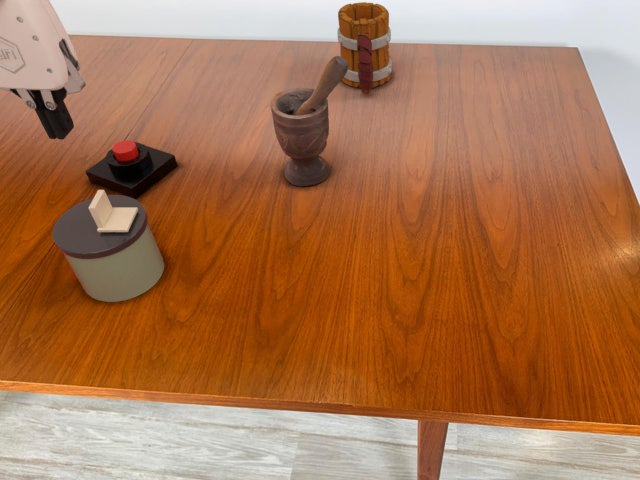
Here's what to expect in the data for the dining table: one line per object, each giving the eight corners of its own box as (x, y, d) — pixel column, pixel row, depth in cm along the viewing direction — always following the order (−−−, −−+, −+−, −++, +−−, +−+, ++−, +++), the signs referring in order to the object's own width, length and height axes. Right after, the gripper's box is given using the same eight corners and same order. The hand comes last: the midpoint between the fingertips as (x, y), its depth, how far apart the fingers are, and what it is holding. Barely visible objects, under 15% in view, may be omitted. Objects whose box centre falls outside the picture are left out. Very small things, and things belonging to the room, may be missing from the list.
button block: (90, 182, 95) (80, 161, 92) (133, 150, 101) (125, 130, 98) (136, 199, 92) (127, 179, 89) (178, 165, 98) (171, 145, 95)
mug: (390, 62, 122) (390, -13, 111) (394, 102, 111) (395, 23, 100) (339, 63, 122) (334, -12, 111) (338, 104, 111) (332, 25, 100)
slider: (97, 232, 73) (86, 210, 70) (109, 209, 76) (99, 187, 73) (128, 232, 73) (118, 210, 70) (138, 209, 76) (129, 187, 73)
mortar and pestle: (342, 150, 101) (334, 36, 86) (358, 179, 95) (352, 62, 80) (277, 165, 98) (257, 49, 83) (289, 195, 92) (270, 76, 78)
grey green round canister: (68, 303, 77) (37, 253, 71) (97, 244, 85) (72, 194, 78) (153, 303, 77) (130, 253, 70) (174, 244, 85) (156, 194, 78)
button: (111, 158, 93) (107, 149, 92) (127, 147, 96) (123, 138, 94) (127, 164, 92) (124, 155, 91) (143, 152, 94) (140, 143, 93)
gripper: (-109, -15, 56) (-12, 147, 70) (37, -10, 55) (107, 154, 68) (-61, -42, 61) (21, 114, 75) (74, -39, 60) (132, 119, 73)
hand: (62, 132), depth 72 cm, fingers closed
